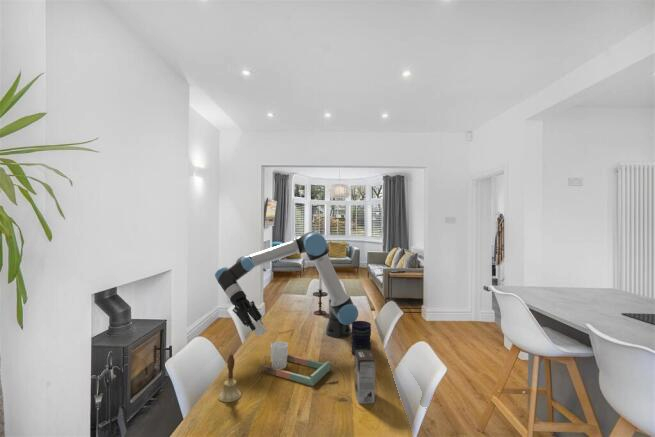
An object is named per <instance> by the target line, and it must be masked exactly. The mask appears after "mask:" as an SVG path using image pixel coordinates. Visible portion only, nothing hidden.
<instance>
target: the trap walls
mask: <svg viewBox="0 0 655 437" xmlns="http://www.w3.org/2000/svg"><path fill="white" fill-rule="evenodd" d="M294 356H295V357H294V362H293V363H295V364H298V363H299V364H298V365H303V366H306V367H308V366H307V360H308V358H305V357H300V356H296V355H294ZM291 372H292V371H288V370H284V369H277V370H276V375H275V376H277V377H280V378H282V379H287V380H290V373H291Z"/></svg>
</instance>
